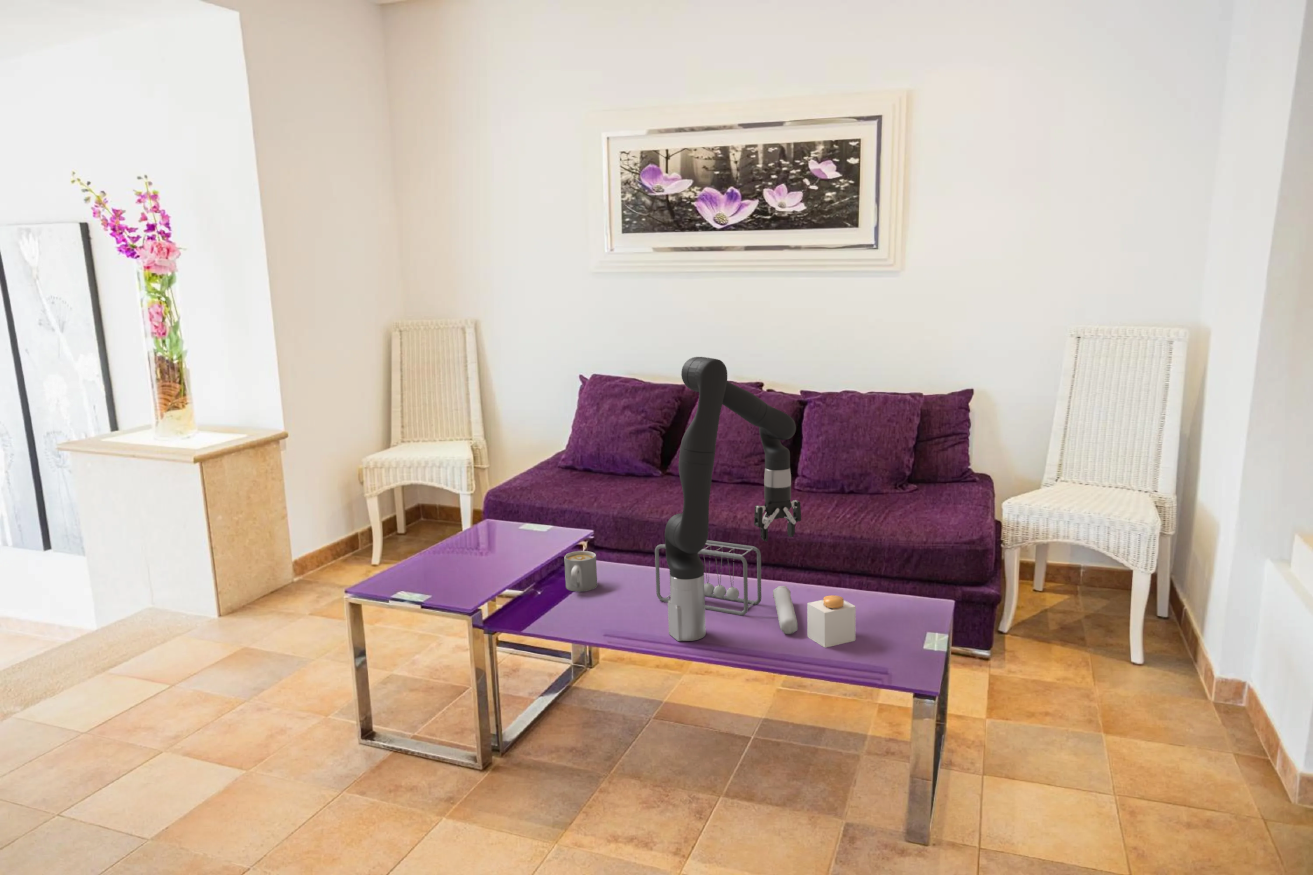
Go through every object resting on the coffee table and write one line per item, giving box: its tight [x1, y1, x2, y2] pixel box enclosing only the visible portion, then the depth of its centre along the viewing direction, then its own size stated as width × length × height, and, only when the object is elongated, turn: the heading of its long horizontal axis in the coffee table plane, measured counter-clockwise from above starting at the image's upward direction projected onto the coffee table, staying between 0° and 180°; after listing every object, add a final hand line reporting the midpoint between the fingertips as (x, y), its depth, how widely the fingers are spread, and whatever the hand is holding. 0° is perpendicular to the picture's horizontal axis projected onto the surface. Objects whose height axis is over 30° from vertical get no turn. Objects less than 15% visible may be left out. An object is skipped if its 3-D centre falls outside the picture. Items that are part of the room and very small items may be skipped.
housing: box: [806, 599, 857, 649], centre depth 237 cm, size 10×8×10 cm
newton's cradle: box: [654, 539, 762, 616], centre depth 266 cm, size 30×10×18 cm, turn 60°
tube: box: [772, 585, 799, 635], centre depth 252 cm, size 5×5×25 cm
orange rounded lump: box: [822, 594, 844, 610], centre depth 236 cm, size 5×5×4 cm
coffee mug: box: [563, 550, 598, 593], centre depth 283 cm, size 13×10×10 cm
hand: (777, 538), depth 259 cm, fingers open, 8 cm apart
